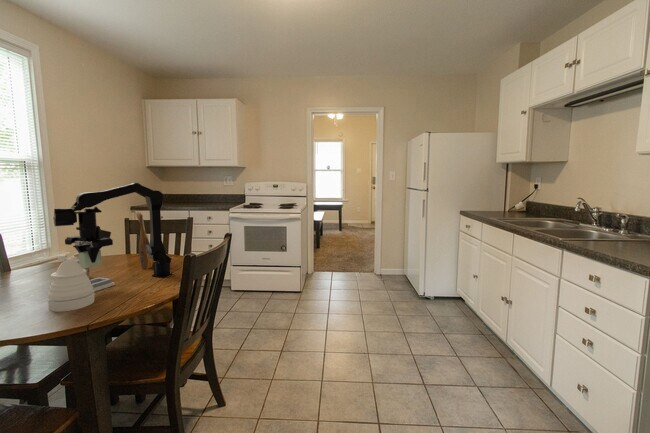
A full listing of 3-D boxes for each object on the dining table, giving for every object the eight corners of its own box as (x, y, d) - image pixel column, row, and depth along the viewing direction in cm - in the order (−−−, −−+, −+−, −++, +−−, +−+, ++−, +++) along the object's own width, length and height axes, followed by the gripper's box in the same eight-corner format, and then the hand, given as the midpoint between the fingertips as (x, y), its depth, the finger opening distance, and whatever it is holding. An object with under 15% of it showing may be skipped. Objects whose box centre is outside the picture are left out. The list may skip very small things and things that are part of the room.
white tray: (114, 284, 137) (114, 279, 136) (86, 294, 125) (86, 288, 125) (96, 282, 139) (96, 276, 139) (67, 291, 128) (67, 285, 128)
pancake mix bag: (137, 271, 158) (134, 214, 155) (138, 262, 175) (136, 210, 172) (153, 269, 161) (150, 213, 158) (152, 260, 178) (150, 210, 175)
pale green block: (85, 268, 128) (83, 253, 127) (79, 267, 128) (78, 252, 128) (101, 264, 134) (100, 249, 134) (96, 263, 135) (95, 249, 134)
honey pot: (42, 313, 107) (37, 260, 105) (56, 300, 118) (52, 252, 116) (89, 308, 112) (85, 257, 110) (98, 296, 124) (95, 249, 122)
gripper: (123, 222, 134) (125, 259, 136) (89, 220, 140) (92, 256, 141) (98, 226, 124) (100, 266, 126) (62, 224, 129) (65, 262, 131)
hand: (90, 262), depth 131 cm, fingers closed on pale green block, 3 cm apart
